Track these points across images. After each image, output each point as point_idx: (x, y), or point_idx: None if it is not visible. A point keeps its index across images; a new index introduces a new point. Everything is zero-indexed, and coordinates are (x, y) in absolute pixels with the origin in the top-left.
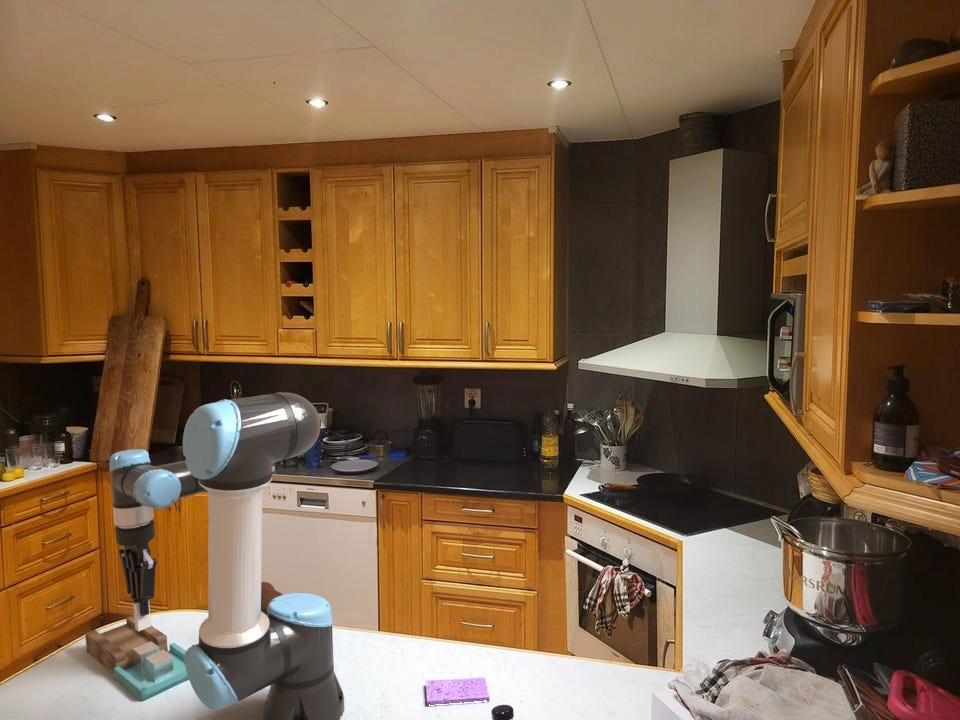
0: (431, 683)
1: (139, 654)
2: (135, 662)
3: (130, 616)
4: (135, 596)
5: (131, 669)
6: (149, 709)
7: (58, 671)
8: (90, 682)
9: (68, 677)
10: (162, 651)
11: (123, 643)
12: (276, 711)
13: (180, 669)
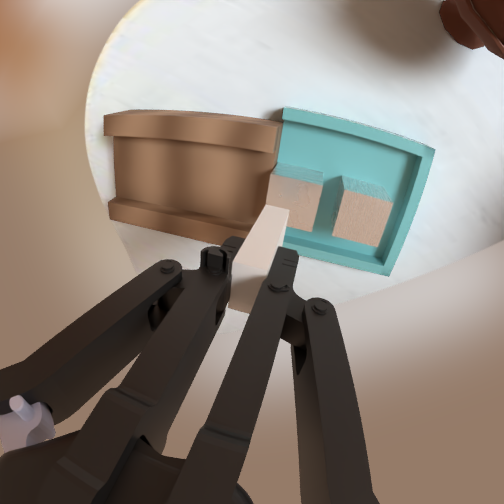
0: None
1: (304, 230)
2: None
3: (105, 126)
4: (224, 308)
5: None
6: (413, 273)
7: (161, 259)
8: None
9: (192, 264)
10: (350, 197)
11: (189, 184)
12: None
13: (385, 169)
